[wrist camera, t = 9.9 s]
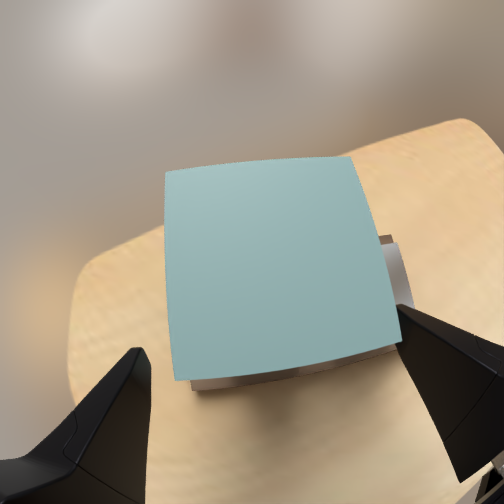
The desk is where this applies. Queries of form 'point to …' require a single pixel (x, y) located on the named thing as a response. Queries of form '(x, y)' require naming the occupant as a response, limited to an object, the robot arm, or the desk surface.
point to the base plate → (400, 296)
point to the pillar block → (272, 267)
